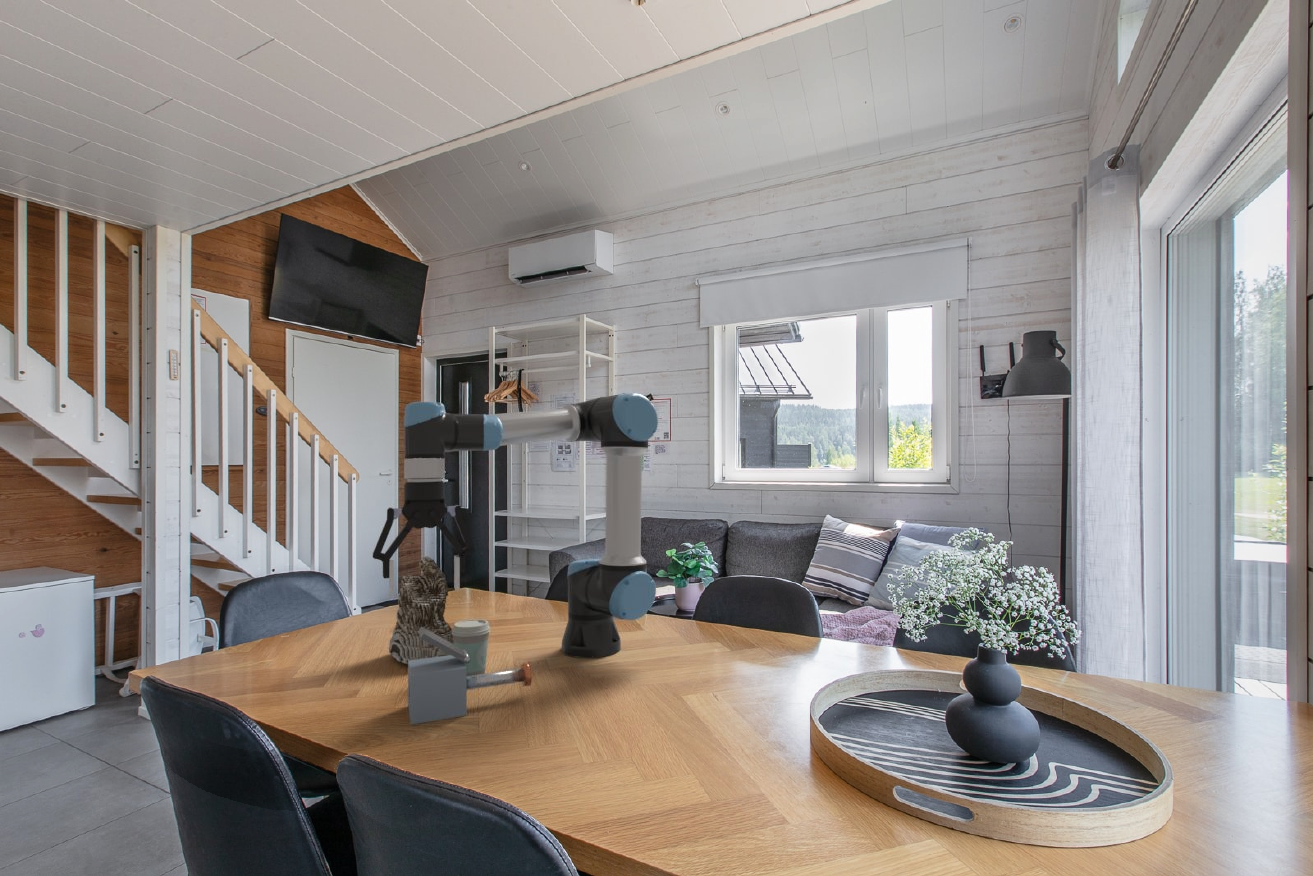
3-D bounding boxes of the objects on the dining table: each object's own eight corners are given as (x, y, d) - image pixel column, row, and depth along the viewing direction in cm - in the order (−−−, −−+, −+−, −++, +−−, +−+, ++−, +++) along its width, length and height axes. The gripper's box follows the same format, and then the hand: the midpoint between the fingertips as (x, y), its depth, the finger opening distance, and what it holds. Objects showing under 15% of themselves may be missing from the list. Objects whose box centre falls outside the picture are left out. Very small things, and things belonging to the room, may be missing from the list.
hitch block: (460, 698, 133) (460, 654, 133) (466, 715, 124) (466, 668, 124) (408, 706, 129) (408, 660, 129) (410, 724, 120) (410, 675, 120)
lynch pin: (526, 681, 136) (526, 659, 136) (531, 688, 132) (531, 665, 132) (451, 693, 130) (451, 670, 130) (454, 700, 126) (454, 676, 126)
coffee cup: (480, 684, 142) (479, 628, 142) (444, 681, 143) (444, 627, 144) (497, 671, 150) (497, 619, 150) (463, 669, 152) (463, 617, 152)
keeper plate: (463, 655, 132) (467, 650, 132) (467, 664, 126) (471, 659, 126) (418, 630, 129) (421, 625, 129) (420, 638, 123) (424, 633, 123)
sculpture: (376, 658, 162) (376, 557, 163) (427, 645, 172) (427, 551, 173) (418, 674, 149) (418, 565, 150) (470, 660, 159) (470, 557, 160)
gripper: (483, 478, 136) (484, 583, 135) (358, 481, 126) (358, 594, 125) (489, 479, 129) (489, 589, 128) (357, 482, 119) (357, 601, 119)
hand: (424, 592), depth 127 cm, fingers open, 11 cm apart
